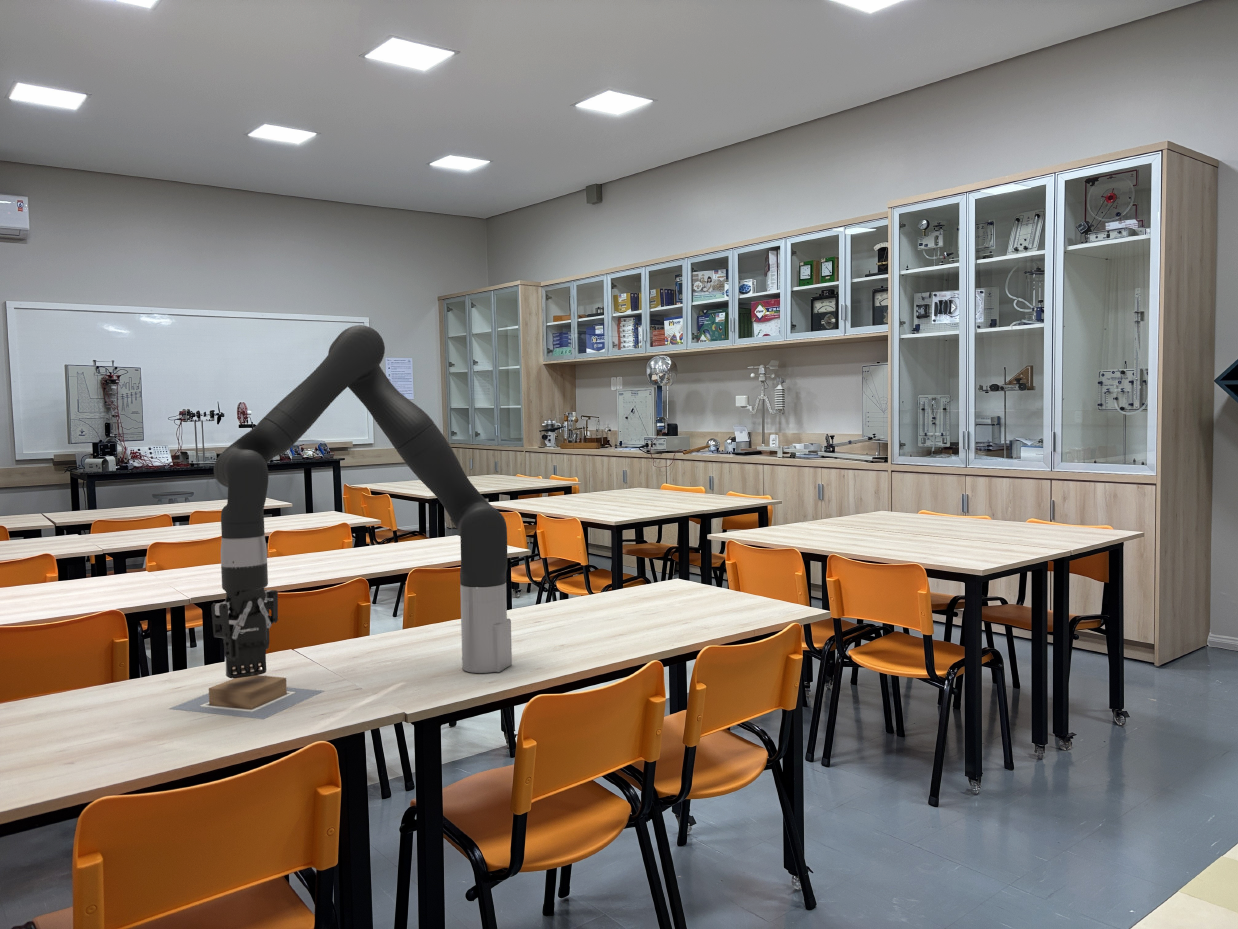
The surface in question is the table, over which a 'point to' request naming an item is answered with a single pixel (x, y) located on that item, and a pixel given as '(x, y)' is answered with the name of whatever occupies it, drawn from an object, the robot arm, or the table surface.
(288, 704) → the board
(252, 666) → the battery charger
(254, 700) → the base block
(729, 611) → the table surface
